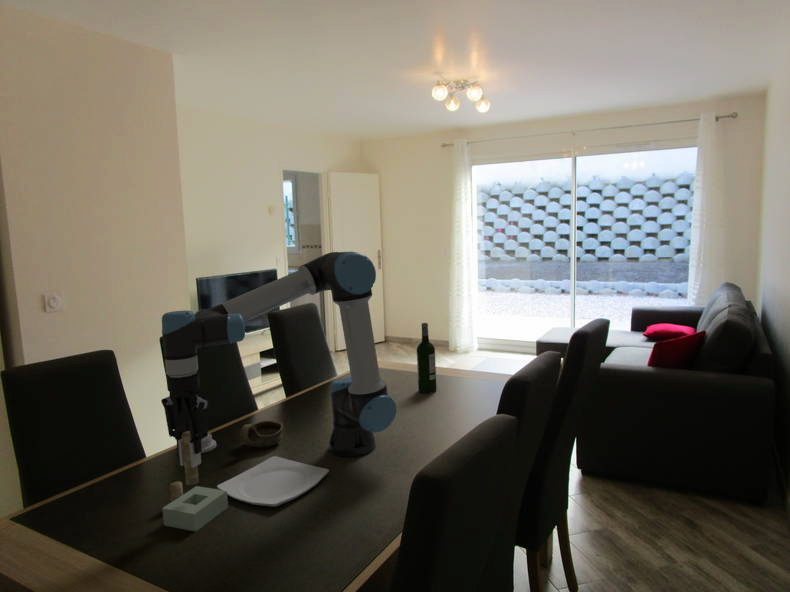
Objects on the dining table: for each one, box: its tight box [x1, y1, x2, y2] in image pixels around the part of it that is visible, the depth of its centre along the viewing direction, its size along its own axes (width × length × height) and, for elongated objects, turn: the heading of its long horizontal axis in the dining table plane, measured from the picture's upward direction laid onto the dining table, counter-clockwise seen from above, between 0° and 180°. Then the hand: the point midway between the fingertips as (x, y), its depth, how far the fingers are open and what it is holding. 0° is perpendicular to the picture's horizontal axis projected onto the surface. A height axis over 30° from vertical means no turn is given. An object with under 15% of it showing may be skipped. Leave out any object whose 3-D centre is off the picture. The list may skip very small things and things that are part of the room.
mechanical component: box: [196, 433, 217, 454], centre depth 181 cm, size 10×4×10 cm
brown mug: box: [239, 420, 284, 448], centre depth 179 cm, size 14×18×10 cm
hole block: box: [161, 485, 229, 532], centre depth 136 cm, size 10×12×4 cm
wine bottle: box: [416, 322, 437, 394], centre depth 232 cm, size 8×8×30 cm
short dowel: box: [169, 480, 184, 502], centre depth 142 cm, size 3×3×6 cm
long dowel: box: [182, 430, 200, 486], centre depth 134 cm, size 3×3×13 cm
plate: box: [216, 455, 330, 508], centre depth 151 cm, size 24×24×3 cm
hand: (190, 464), depth 135 cm, fingers closed on long dowel, 3 cm apart
